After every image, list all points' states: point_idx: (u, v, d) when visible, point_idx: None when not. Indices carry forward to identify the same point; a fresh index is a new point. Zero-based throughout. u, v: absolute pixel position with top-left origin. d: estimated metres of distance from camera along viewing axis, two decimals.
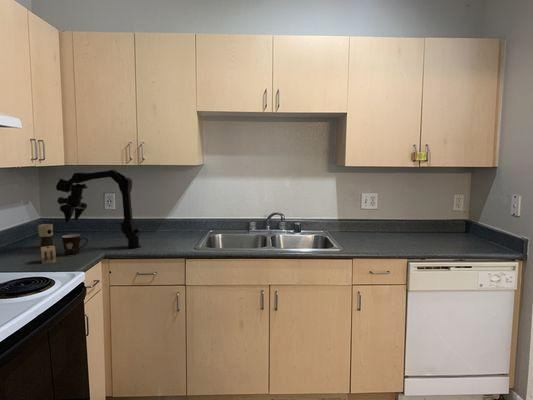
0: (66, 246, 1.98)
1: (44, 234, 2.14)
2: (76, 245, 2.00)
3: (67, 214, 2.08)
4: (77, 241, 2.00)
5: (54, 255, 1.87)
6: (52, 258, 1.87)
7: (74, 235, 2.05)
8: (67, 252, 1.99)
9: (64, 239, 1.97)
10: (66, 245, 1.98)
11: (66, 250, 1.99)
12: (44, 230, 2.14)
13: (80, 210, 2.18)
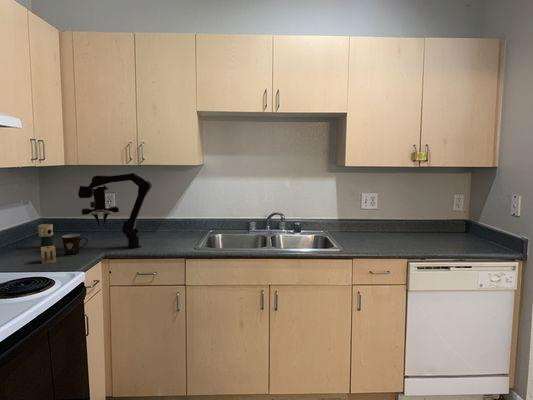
0: (66, 246, 1.98)
1: (44, 234, 2.14)
2: (76, 245, 2.00)
3: None
4: (77, 241, 2.00)
5: (54, 255, 1.87)
6: (52, 258, 1.87)
7: (74, 235, 2.05)
8: (67, 252, 1.99)
9: (64, 239, 1.97)
10: (66, 245, 1.98)
11: (66, 250, 1.99)
12: (44, 230, 2.14)
13: (104, 215, 2.12)
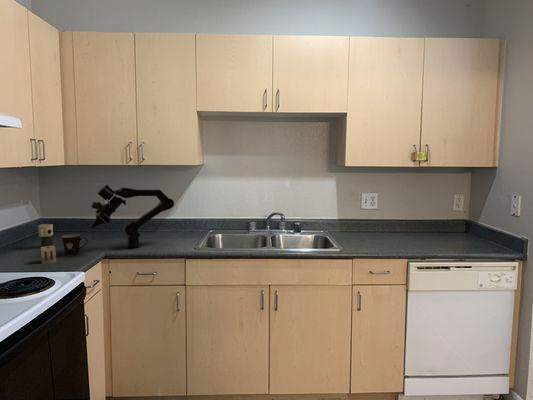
0: (66, 246, 1.98)
1: (44, 234, 2.14)
2: (76, 245, 2.00)
3: (98, 221, 2.05)
4: (77, 241, 2.00)
5: (54, 255, 1.87)
6: (52, 258, 1.87)
7: (74, 235, 2.05)
8: (67, 252, 1.99)
9: (64, 239, 1.97)
10: (66, 245, 1.98)
11: (66, 250, 1.99)
12: (44, 230, 2.14)
13: None
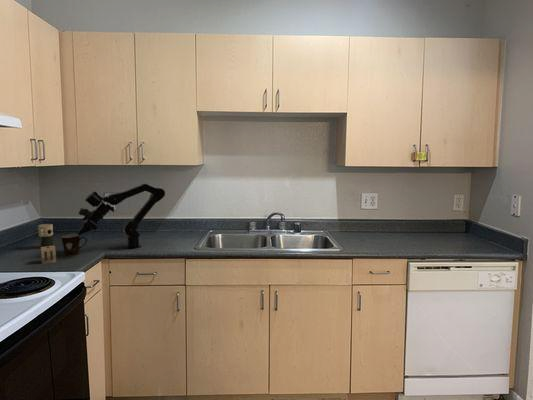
0: (66, 246, 1.98)
1: (44, 234, 2.14)
2: (76, 245, 2.00)
3: (85, 228, 2.02)
4: (76, 241, 2.00)
5: (54, 255, 1.87)
6: (52, 258, 1.87)
7: (73, 235, 2.05)
8: (67, 252, 1.99)
9: (63, 239, 1.97)
10: (66, 245, 1.98)
11: (66, 250, 1.98)
12: (44, 230, 2.14)
13: None
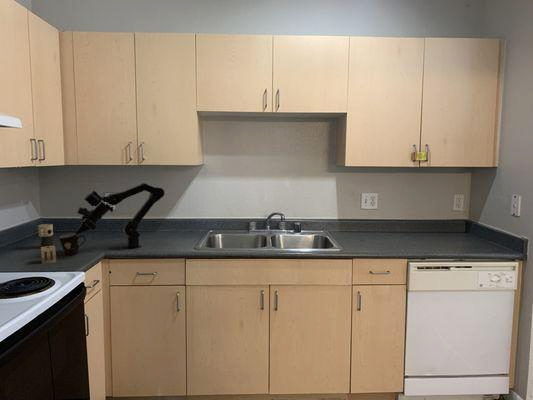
0: (64, 246, 1.98)
1: (44, 234, 2.14)
2: (74, 244, 1.99)
3: (83, 227, 2.01)
4: (75, 240, 2.00)
5: (54, 255, 1.87)
6: (52, 258, 1.87)
7: (71, 234, 2.04)
8: (66, 252, 1.99)
9: (61, 239, 1.97)
10: (64, 245, 1.97)
11: (65, 250, 1.98)
12: (44, 230, 2.14)
13: None
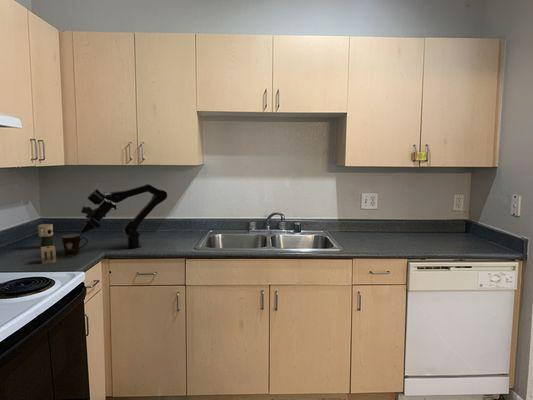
0: (66, 246, 1.98)
1: (44, 234, 2.14)
2: (76, 245, 2.00)
3: (88, 226, 2.02)
4: (77, 241, 2.00)
5: (54, 255, 1.87)
6: (52, 258, 1.87)
7: (74, 235, 2.05)
8: (67, 252, 1.99)
9: (64, 239, 1.97)
10: (66, 245, 1.98)
11: (66, 250, 1.99)
12: (44, 230, 2.14)
13: None
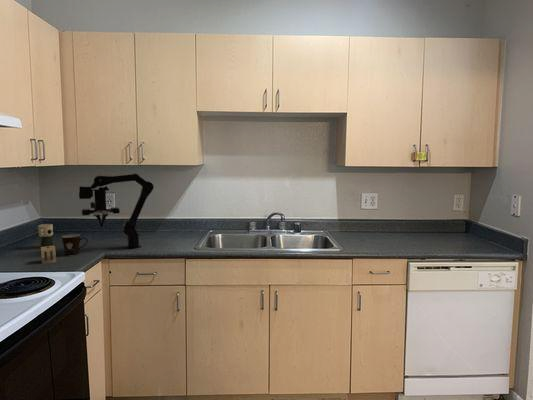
0: (66, 246, 1.98)
1: (44, 234, 2.14)
2: (76, 245, 2.00)
3: None
4: (77, 241, 2.00)
5: (54, 255, 1.87)
6: (52, 258, 1.87)
7: (74, 235, 2.05)
8: (67, 252, 1.99)
9: (64, 239, 1.97)
10: (66, 245, 1.98)
11: (66, 250, 1.99)
12: (44, 230, 2.14)
13: (102, 216, 2.08)
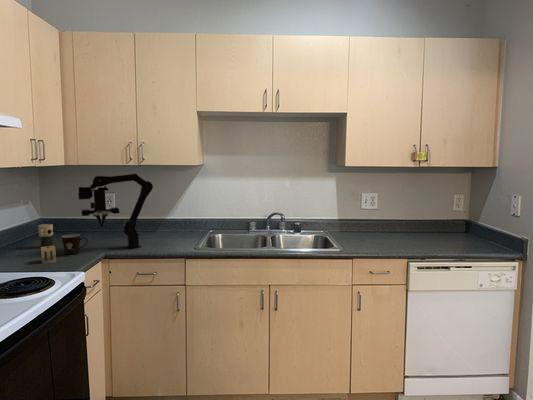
0: (66, 246, 1.98)
1: (44, 234, 2.14)
2: (76, 245, 2.00)
3: None
4: (77, 241, 2.00)
5: (54, 255, 1.87)
6: (52, 258, 1.87)
7: (74, 235, 2.05)
8: (67, 252, 1.99)
9: (64, 239, 1.97)
10: (66, 245, 1.98)
11: (66, 250, 1.99)
12: (44, 230, 2.14)
13: (102, 216, 2.08)
